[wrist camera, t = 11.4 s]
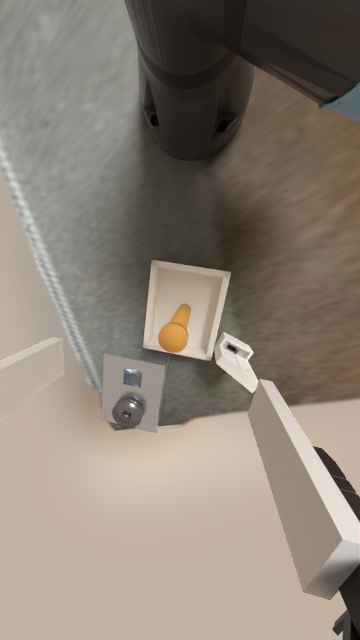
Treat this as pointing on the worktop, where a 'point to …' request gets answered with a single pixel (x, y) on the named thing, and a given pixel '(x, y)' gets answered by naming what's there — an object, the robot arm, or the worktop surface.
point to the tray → (186, 288)
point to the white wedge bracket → (235, 360)
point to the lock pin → (175, 331)
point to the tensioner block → (134, 386)
